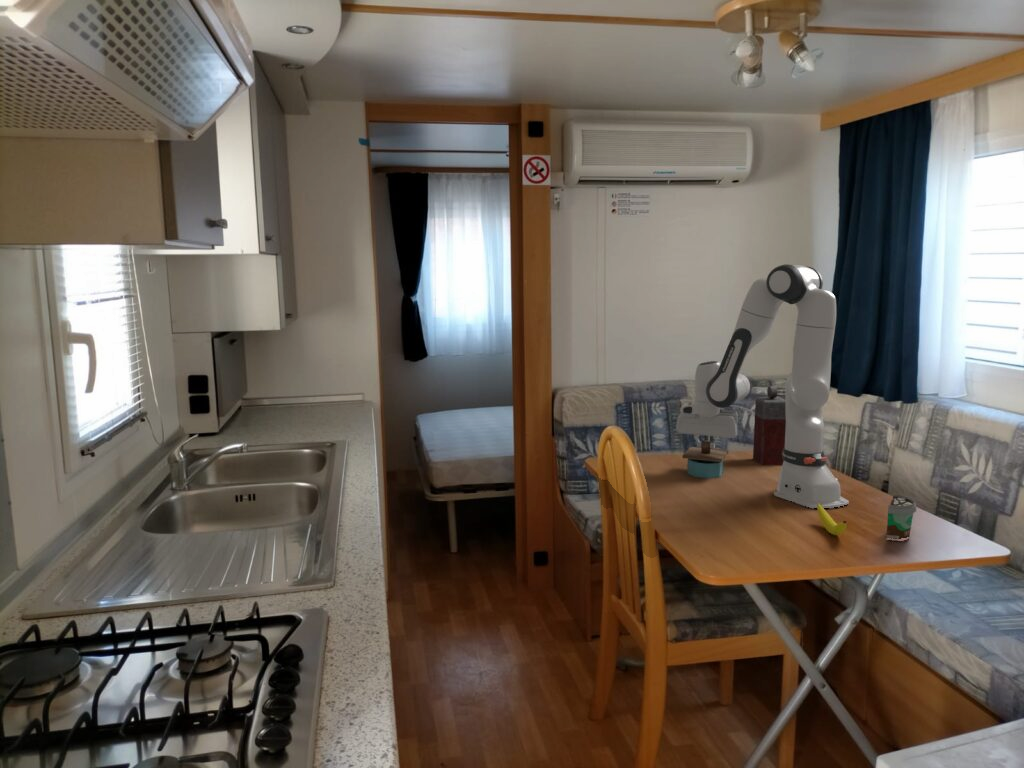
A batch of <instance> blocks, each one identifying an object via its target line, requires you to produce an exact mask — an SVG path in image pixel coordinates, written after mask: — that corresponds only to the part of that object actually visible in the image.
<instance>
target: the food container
mask: <svg viewBox="0 0 1024 768" xmlns="http://www.w3.org/2000/svg"><path fill="white" fill-rule="evenodd" d="M916 512H917V504H916V501H915V500H914V499H913V498H912V497H908V496H906V495H902V494H899V493H892V500H891V502H890V504H888V509H887V521H886V522H887V524H886V536H885V538H891V539H892V538H893V539H901V538H907V537H909V538H910V534H911V529H912V522H913V518H914V513H916Z"/></svg>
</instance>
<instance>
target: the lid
mask: <svg viewBox="0 0 1024 768" xmlns="http://www.w3.org/2000/svg"><path fill="white" fill-rule="evenodd" d="M701 442H702V446H701V448H698V447H697V446H690V447H689V448H688V449H687V450H686V451H684V453H683V454H682V459H686V460H688V459H696V460H706V461H716V462H722V461H723V462H724V460H725V458H726V457H727V455H728V454H729V450H728V449H719V448H715V449H710V443H712V441H711V440H705V439H703V440H701Z"/></svg>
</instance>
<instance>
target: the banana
mask: <svg viewBox="0 0 1024 768" xmlns="http://www.w3.org/2000/svg"><path fill="white" fill-rule="evenodd" d="M817 515H818V517H819V520H820V522H821V524H822V526H823V528H825V530H826V531H827V532H828V533H829V534H830V533H831V535H833V536H836V535H837V536H841V535H842V534H844V533H845V530H846V528H847V521H846V520H844V521H842V522H839V523H836V521H834V519H833V518H832V516H830V514H829V513H828V512H827V511H826V509H824V508H823V507H822V506H821V505H820V504H819V503H818V505H817Z"/></svg>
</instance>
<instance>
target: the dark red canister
mask: <svg viewBox="0 0 1024 768" xmlns="http://www.w3.org/2000/svg"><path fill="white" fill-rule="evenodd" d="M766 393H767V396H757V397H755V404H754V406H755V407H754V427H753V429H754V430H753V431H754V432H753V448H752V451H753V452H752V460H753V461H755V462H756V463H757V464H758V465H760V466H782V465H783V462H784V460H783V455H782V453H783V448H784V447H785V431H786V407H785V398H782V397H780V396H778V388H777V386H776V385H772V386H771V385H769V386H768V387H767V391H766Z"/></svg>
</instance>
